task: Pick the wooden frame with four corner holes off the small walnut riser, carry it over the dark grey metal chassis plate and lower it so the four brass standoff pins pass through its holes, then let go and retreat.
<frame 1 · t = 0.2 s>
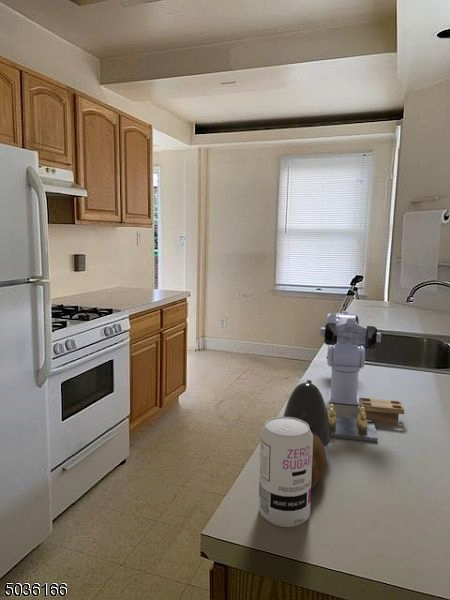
hand: (352, 341, 101), 21 cm above the counter, tool horizontal, fingers open, 7 cm apart
supplement can: (284, 514, 71), on the counter
pump dispenser: (304, 454, 91), on the counter, touching potato
riser: (380, 419, 109), on the counter
wooden frame: (380, 407, 108), point 3 cm above the counter, touching riser
potato: (300, 479, 81), on the counter, touching pump dispenser
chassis: (346, 429, 102), on the counter
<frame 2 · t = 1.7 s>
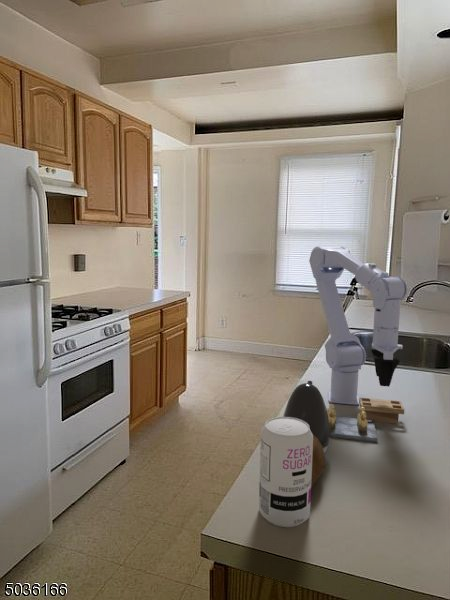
hand: (382, 380, 107), 10 cm above the counter, tool pointing down, fingers open, 7 cm apart
pump dispenser: (304, 455, 90), on the counter, touching potato
potato: (299, 480, 81), on the counter, touching pump dispenser
everything else where it was.
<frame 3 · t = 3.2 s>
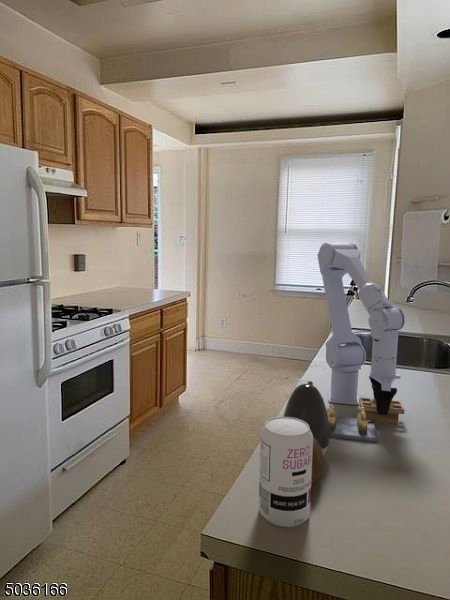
hand: (380, 409, 108), 3 cm above the counter, tool pointing down, fingers closed on wooden frame, 6 cm apart
wooden frame: (380, 407, 108), point 3 cm above the counter, touching gripper, riser
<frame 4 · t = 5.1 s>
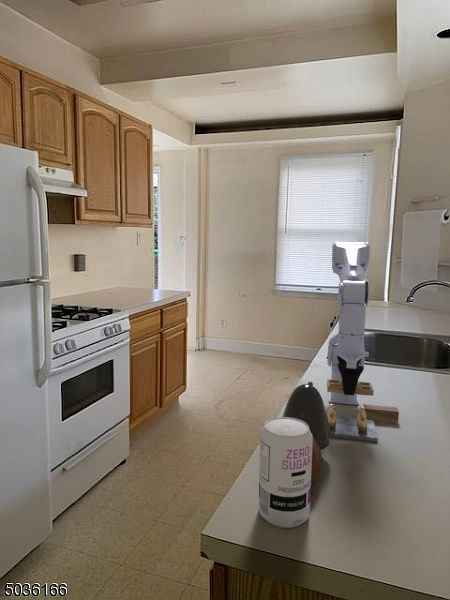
hand: (348, 390, 101), 10 cm above the counter, tool pointing down, fingers closed on wooden frame, 6 cm apart
pump dispenser: (303, 456, 90), on the counter, touching potato
wooden frame: (349, 389, 101), point 10 cm above the counter, touching gripper
potato: (295, 481, 80), on the counter, touching pump dispenser
everything else where it was.
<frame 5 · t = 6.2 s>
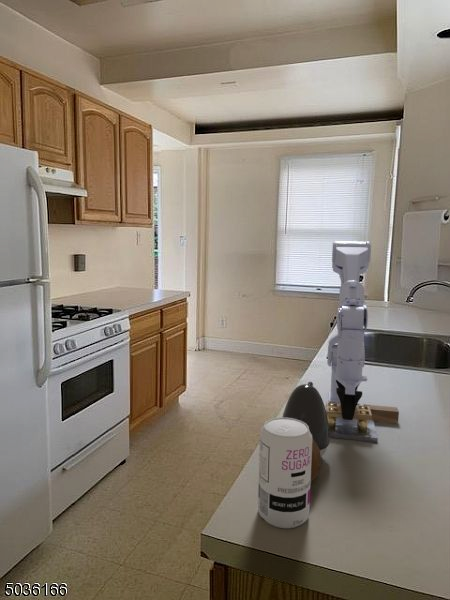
hand: (347, 414, 102), 4 cm above the counter, tool pointing down, fingers closed on wooden frame, 6 cm apart
wooden frame: (348, 413, 102), point 4 cm above the counter, touching gripper
potato: (294, 482, 80), on the counter, touching pump dispenser
everything else where it was.
when the fingers open (4 cm above the counter, at t = 7.2 s): wooden frame stays where it is, resting on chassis.
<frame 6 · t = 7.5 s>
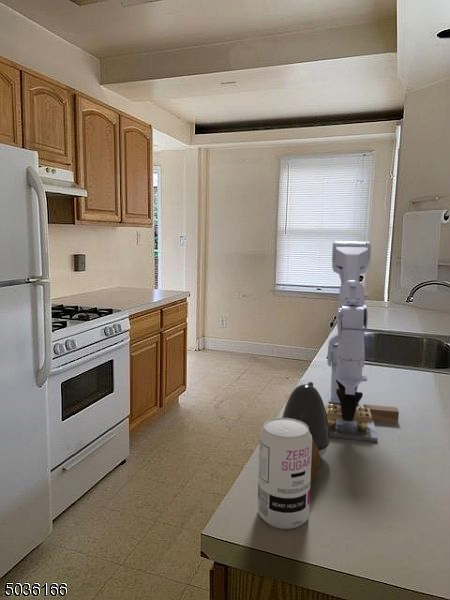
hand: (347, 413, 102), 4 cm above the counter, tool pointing down, fingers open, 7 cm apart
pump dispenser: (303, 457, 89), on the counter, touching potato
wooden frame: (347, 415, 102), point 3 cm above the counter, touching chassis
everything else where it was.
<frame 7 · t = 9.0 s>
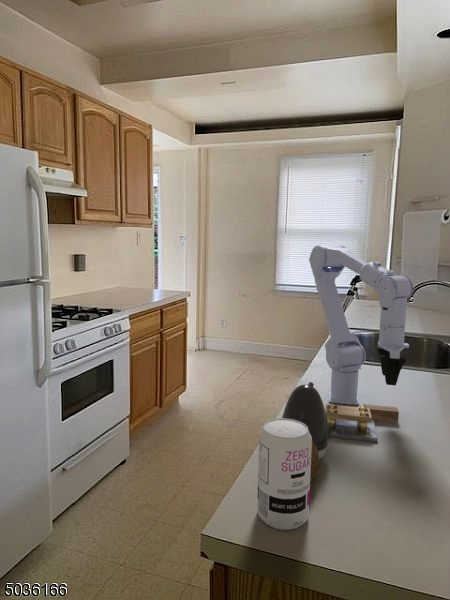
hand: (388, 379, 107), 10 cm above the counter, tool pointing down, fingers open, 7 cm apart
potato: (292, 482, 80), on the counter, touching pump dispenser
everything else where it was.
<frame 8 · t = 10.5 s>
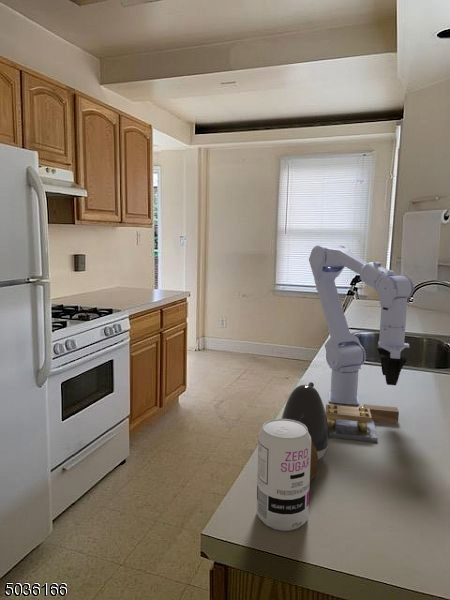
hand: (389, 379, 107), 10 cm above the counter, tool pointing down, fingers open, 7 cm apart
pump dispenser: (302, 457, 89), on the counter, touching potato
everything else where it was.
at the end: wooden frame 0.2 cm off-centre on the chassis, point 3.5 cm above the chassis's base; wooden frame tilted 0°; the gripper is holding nothing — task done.
